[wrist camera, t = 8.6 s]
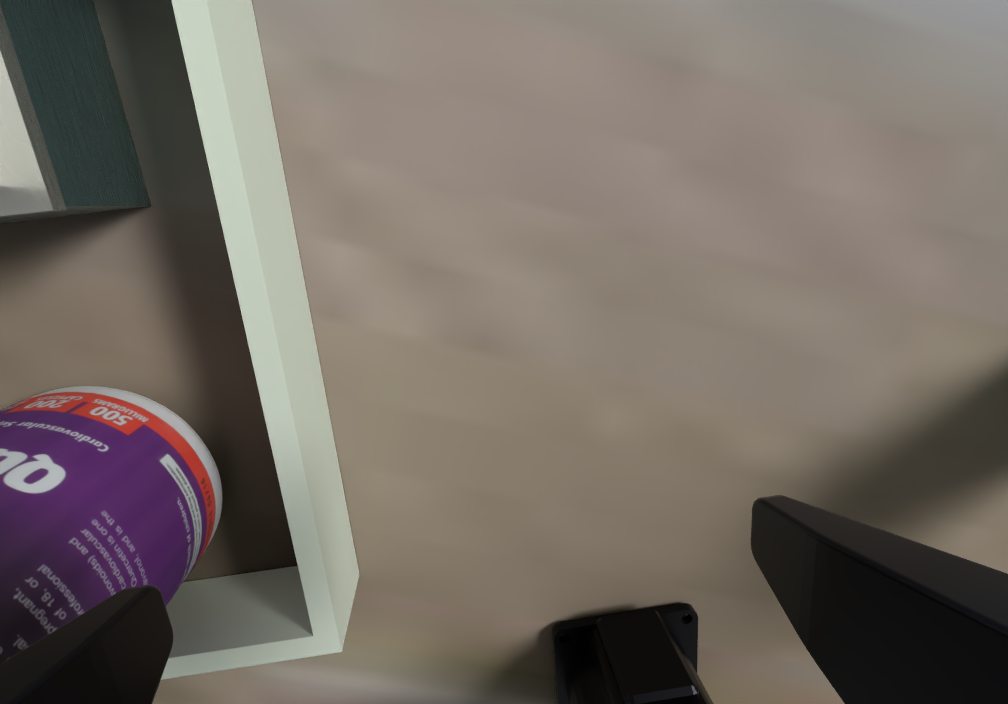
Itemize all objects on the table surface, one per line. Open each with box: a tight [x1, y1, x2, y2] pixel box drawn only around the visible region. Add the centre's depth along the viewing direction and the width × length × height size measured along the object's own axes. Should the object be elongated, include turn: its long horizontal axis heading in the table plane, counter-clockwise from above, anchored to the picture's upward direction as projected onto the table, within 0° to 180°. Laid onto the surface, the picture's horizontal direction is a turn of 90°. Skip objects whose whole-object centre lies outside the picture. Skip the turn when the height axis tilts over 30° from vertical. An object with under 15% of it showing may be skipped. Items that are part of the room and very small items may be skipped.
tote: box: [161, 0, 359, 680], centre depth 16 cm, size 23×16×4 cm
